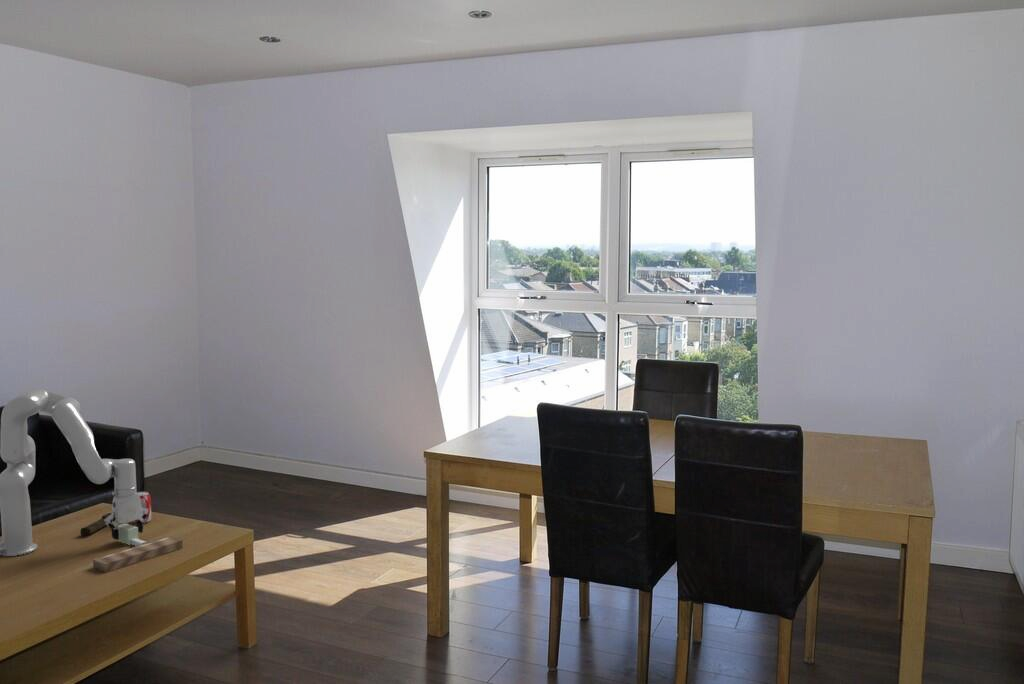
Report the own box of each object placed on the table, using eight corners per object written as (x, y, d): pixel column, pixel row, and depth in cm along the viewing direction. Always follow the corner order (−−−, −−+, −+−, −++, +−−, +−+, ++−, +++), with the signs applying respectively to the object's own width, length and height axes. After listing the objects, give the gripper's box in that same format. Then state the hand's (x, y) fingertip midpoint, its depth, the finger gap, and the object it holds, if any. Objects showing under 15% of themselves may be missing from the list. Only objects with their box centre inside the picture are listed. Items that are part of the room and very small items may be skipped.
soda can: (155, 520, 353) (154, 492, 352) (141, 525, 347) (140, 496, 345) (143, 518, 356) (141, 490, 355) (129, 523, 350) (127, 494, 348)
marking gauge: (142, 550, 318) (142, 534, 317) (117, 541, 328) (116, 526, 327) (152, 547, 321) (151, 531, 321) (126, 538, 331) (126, 523, 330)
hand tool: (89, 537, 333) (89, 526, 332) (80, 537, 333) (79, 525, 333) (119, 522, 351) (119, 511, 351) (110, 522, 352) (110, 511, 352)
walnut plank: (105, 572, 296) (105, 563, 296) (93, 567, 301) (92, 559, 300) (182, 548, 321) (182, 540, 320) (170, 543, 325) (169, 535, 325)
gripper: (109, 498, 316) (111, 543, 318) (152, 488, 330) (154, 531, 332) (98, 495, 320) (100, 539, 322) (141, 485, 334) (143, 527, 336)
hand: (127, 535), depth 327 cm, fingers open, 9 cm apart
